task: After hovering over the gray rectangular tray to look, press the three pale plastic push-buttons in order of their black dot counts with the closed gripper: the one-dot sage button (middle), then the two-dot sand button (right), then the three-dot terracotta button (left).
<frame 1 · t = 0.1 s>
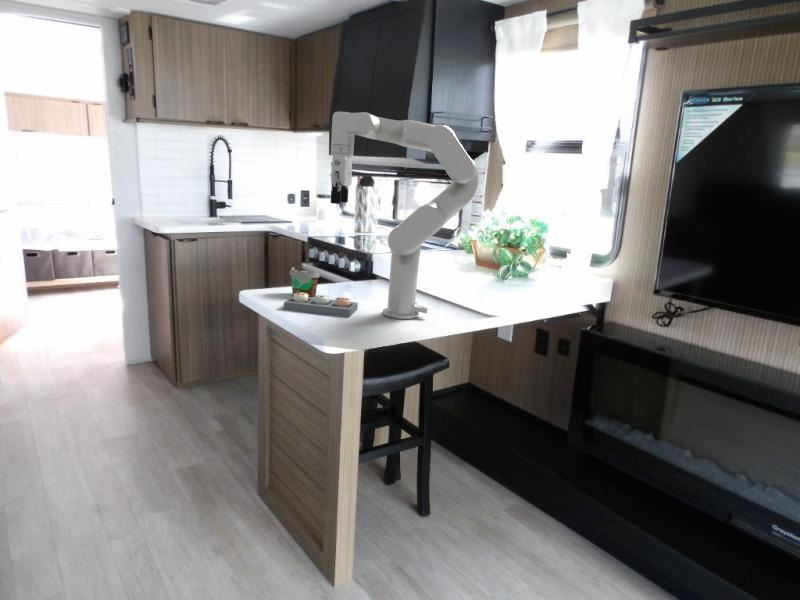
hand: (339, 202, 191), 37 cm above the counter, tool pointing down, fingers open, 9 cm apart
button one dot: (321, 300, 194), point 3 cm above the counter, slide at 0.0 cm
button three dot: (342, 303, 193), point 3 cm above the counter, slide at 0.0 cm
food container: (300, 297, 212), on the counter
gray rectangular tray: (321, 309, 195), on the counter
button two dot: (300, 298, 195), point 3 cm above the counter, slide at 0.0 cm
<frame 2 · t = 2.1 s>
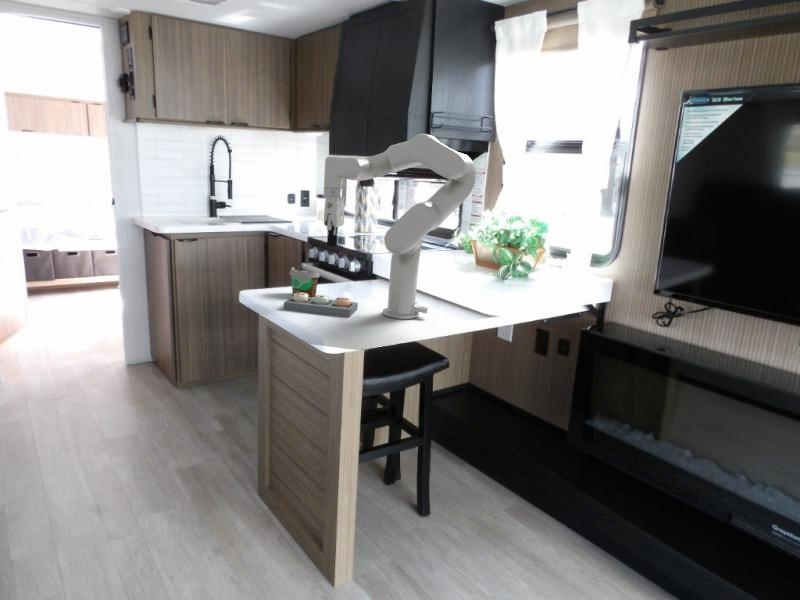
hand: (331, 245, 199), 21 cm above the counter, tool pointing down, fingers closed
nothing on the counter moved.
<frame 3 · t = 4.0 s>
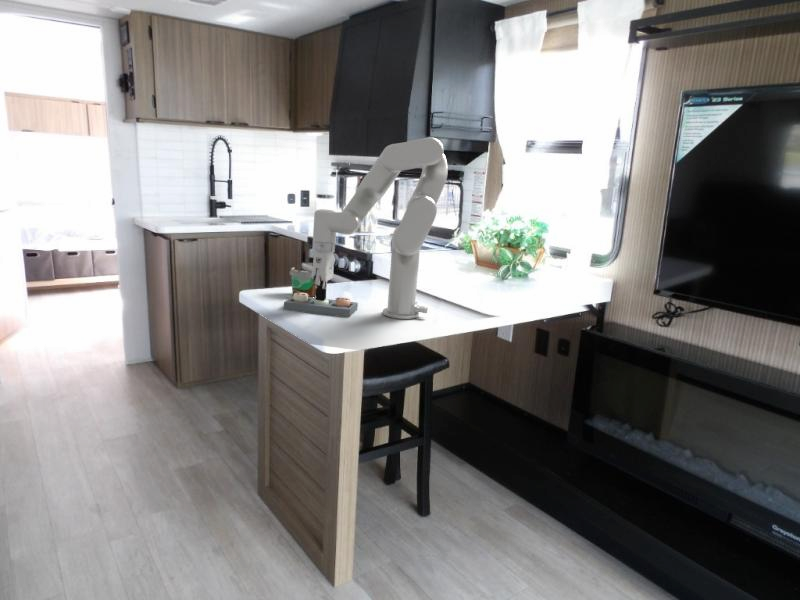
hand: (320, 299, 194), 4 cm above the counter, tool pointing down, fingers closed
button one dot: (321, 304, 194), point 2 cm above the counter, slide at 1.2 cm, touching gripper
everything else where it was.
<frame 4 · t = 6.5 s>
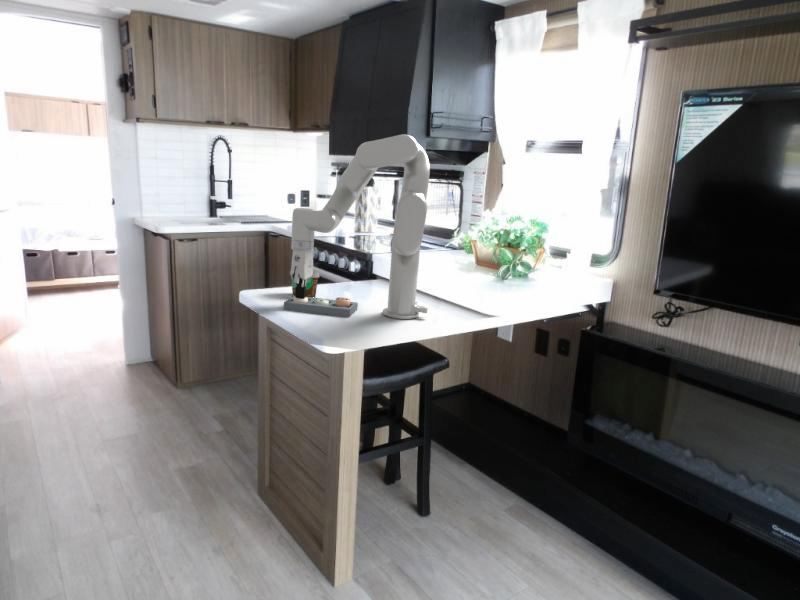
hand: (300, 297, 195), 3 cm above the counter, tool pointing down, fingers closed
button one dot: (321, 304, 194), point 2 cm above the counter, slide at 1.5 cm
button two dot: (300, 302, 195), point 2 cm above the counter, slide at 1.4 cm, touching gripper
everything else where it was.
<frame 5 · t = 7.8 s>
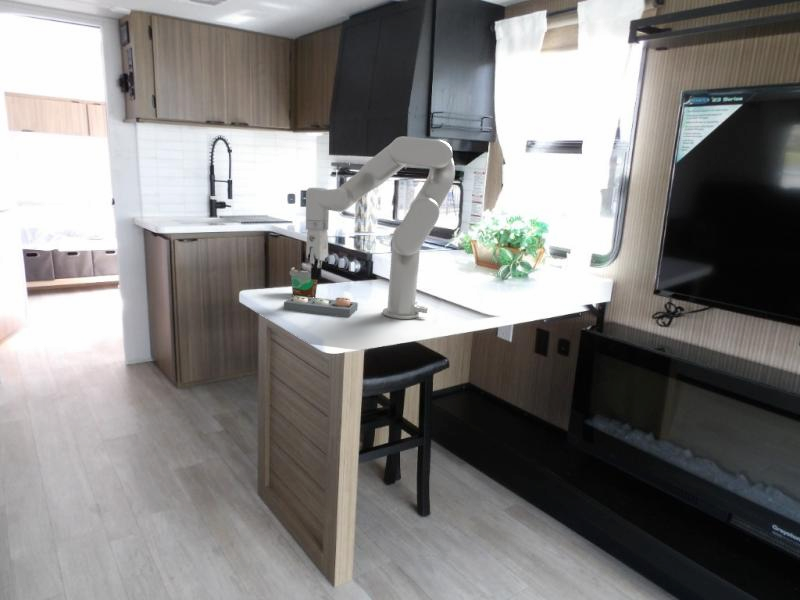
hand: (316, 278, 193), 11 cm above the counter, tool pointing down, fingers closed
button two dot: (300, 302, 195), point 2 cm above the counter, slide at 1.5 cm
everything else where it was.
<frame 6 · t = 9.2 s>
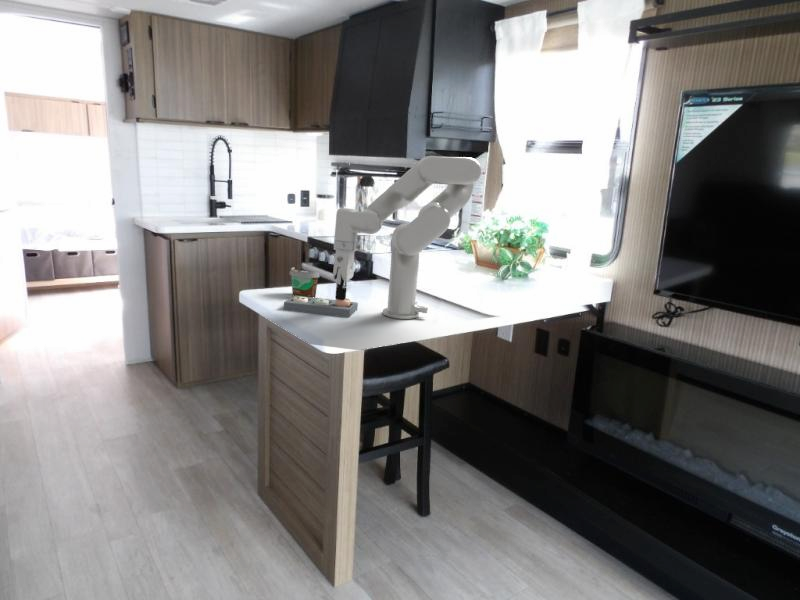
hand: (340, 298, 192), 5 cm above the counter, tool pointing down, fingers closed
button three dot: (342, 303, 193), point 3 cm above the counter, slide at 0.2 cm, touching gripper
everything else where it was.
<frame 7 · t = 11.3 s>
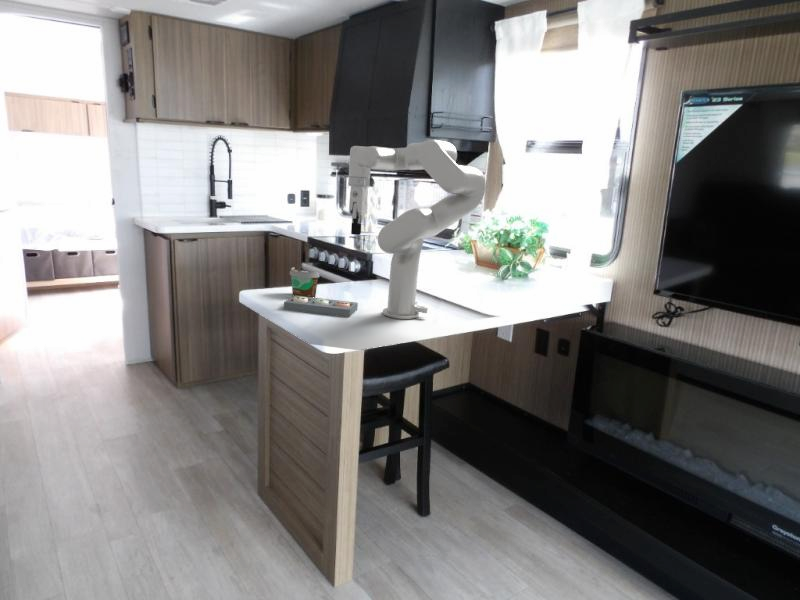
hand: (355, 234, 202), 25 cm above the counter, tool pointing down, fingers closed
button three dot: (342, 307, 193), point 2 cm above the counter, slide at 1.5 cm
everything else where it was.
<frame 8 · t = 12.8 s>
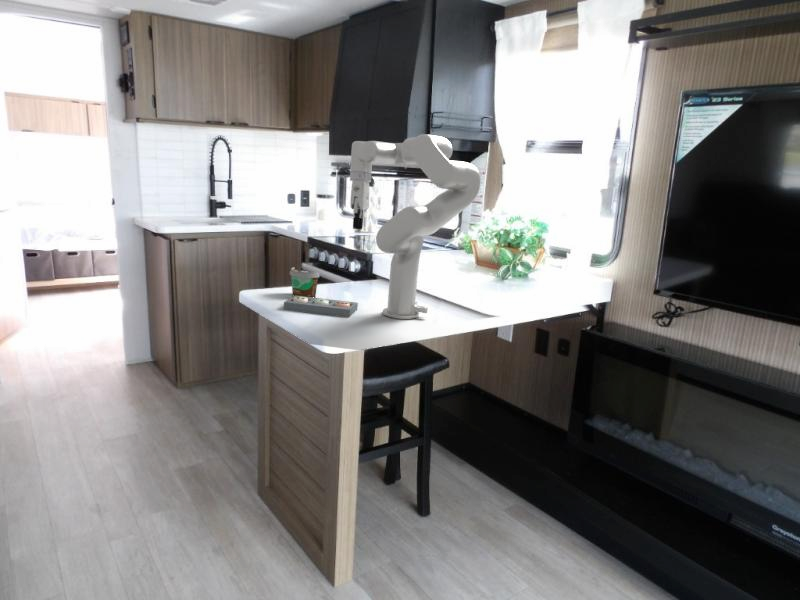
hand: (357, 228, 204), 27 cm above the counter, tool pointing down, fingers closed
nothing on the counter moved.
at the end: button one dot slide at 1.5 cm; button two dot slide at 1.5 cm; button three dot slide at 1.5 cm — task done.
